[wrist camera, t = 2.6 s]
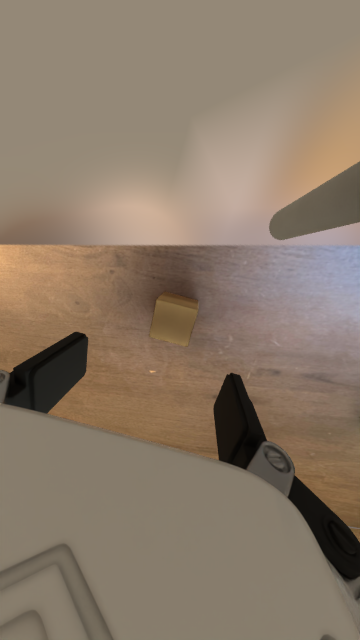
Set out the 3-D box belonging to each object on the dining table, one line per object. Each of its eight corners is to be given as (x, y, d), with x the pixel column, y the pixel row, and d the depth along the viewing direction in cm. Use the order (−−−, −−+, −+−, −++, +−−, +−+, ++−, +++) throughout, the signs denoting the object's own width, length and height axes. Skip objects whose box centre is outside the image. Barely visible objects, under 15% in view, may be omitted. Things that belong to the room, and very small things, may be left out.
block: (164, 291, 22) (156, 298, 18) (198, 300, 22) (198, 310, 18) (157, 322, 24) (148, 336, 19) (189, 331, 24) (187, 347, 19)
